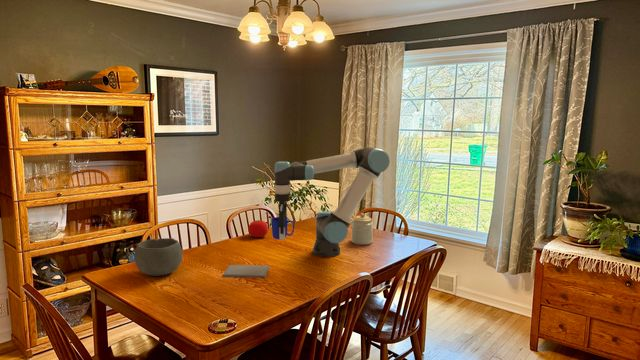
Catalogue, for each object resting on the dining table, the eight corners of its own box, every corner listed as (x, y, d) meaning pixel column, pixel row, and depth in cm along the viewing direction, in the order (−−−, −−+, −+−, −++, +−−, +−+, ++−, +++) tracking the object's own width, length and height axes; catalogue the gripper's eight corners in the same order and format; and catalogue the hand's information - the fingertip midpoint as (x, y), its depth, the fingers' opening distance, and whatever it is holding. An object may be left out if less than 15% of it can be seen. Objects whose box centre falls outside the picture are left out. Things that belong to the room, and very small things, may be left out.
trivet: (269, 267, 214) (269, 265, 214) (265, 277, 200) (265, 275, 200) (229, 266, 215) (229, 264, 214) (222, 276, 201) (222, 274, 201)
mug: (292, 241, 211) (292, 221, 210) (269, 239, 214) (268, 220, 212) (296, 236, 219) (296, 217, 218) (274, 235, 222) (273, 216, 220)
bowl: (137, 284, 190) (135, 252, 188) (133, 269, 209) (132, 239, 206) (186, 277, 200) (185, 245, 198) (178, 263, 218) (177, 234, 216)
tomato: (266, 239, 262) (266, 222, 261) (246, 239, 262) (246, 222, 261) (269, 234, 273) (269, 218, 272) (250, 234, 274) (249, 217, 272)
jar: (376, 241, 261) (377, 212, 258) (366, 246, 250) (367, 216, 248) (357, 237, 268) (357, 210, 265) (347, 242, 257) (347, 213, 254)
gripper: (277, 189, 223) (278, 232, 227) (272, 196, 204) (273, 243, 207) (291, 189, 223) (292, 232, 226) (287, 196, 203) (288, 243, 207)
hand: (283, 237), depth 217 cm, fingers closed on mug, 7 cm apart
